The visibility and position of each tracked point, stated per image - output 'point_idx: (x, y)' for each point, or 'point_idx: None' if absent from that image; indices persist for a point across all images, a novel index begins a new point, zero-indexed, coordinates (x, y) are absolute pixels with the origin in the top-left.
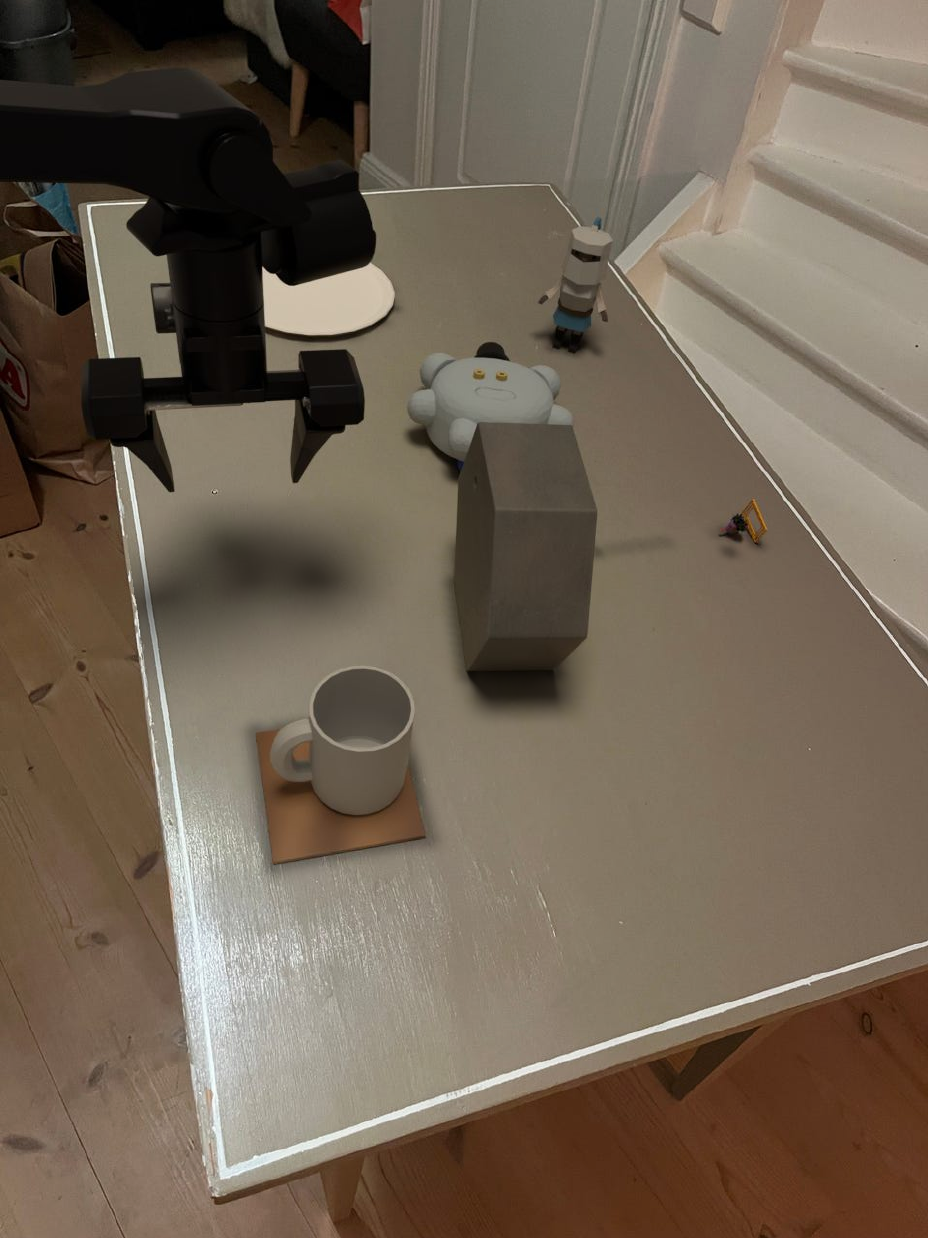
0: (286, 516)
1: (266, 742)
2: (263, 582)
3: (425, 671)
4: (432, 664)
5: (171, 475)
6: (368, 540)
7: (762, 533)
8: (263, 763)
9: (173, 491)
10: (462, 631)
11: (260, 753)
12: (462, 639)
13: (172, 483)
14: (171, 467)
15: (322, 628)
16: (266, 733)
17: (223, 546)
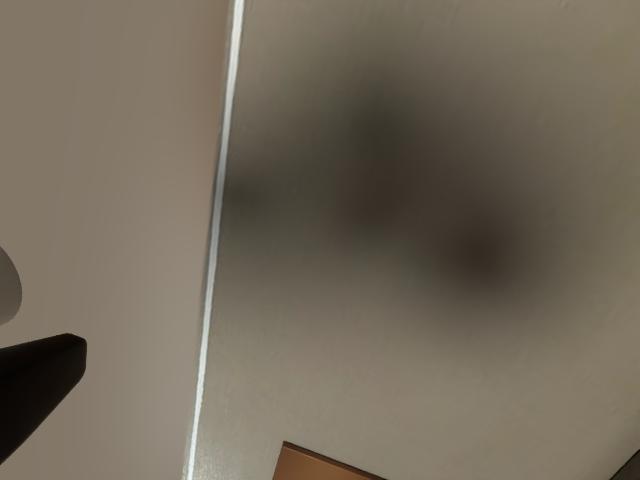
0: (517, 76)
1: (288, 461)
2: (392, 228)
3: (528, 476)
4: (546, 473)
5: (2, 444)
6: (637, 211)
7: None
8: (276, 478)
9: (74, 384)
10: (635, 474)
11: (277, 468)
12: (623, 473)
13: (29, 434)
14: (18, 378)
15: (433, 350)
16: (292, 453)
17: (363, 117)
